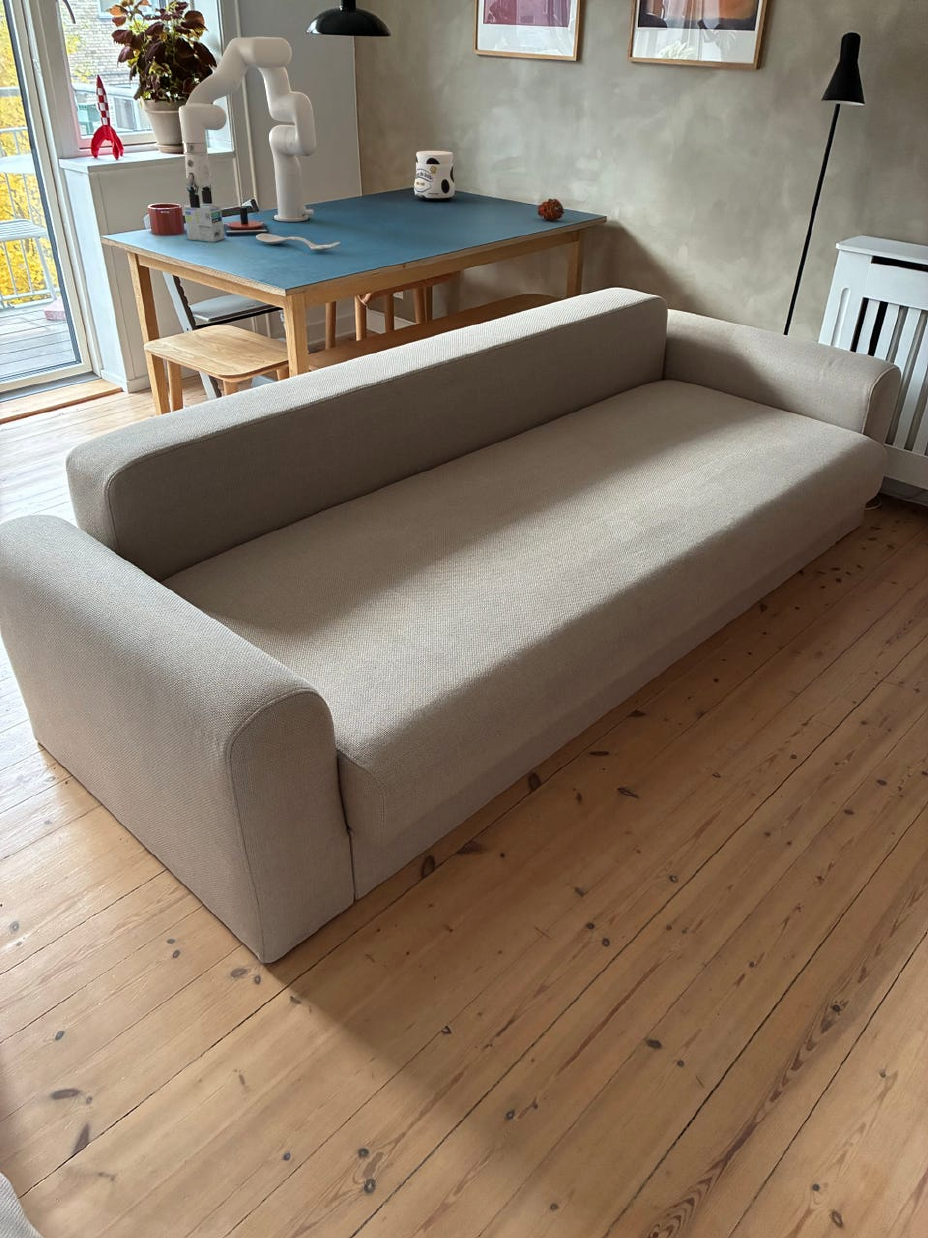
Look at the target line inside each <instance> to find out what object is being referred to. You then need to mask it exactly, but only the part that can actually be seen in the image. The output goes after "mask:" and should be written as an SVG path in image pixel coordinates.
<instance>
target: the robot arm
mask: <svg viewBox="0 0 928 1238" xmlns="http://www.w3.org/2000/svg"><path fill="white" fill-rule="evenodd" d="M292 51H293V50H292V47H291V45H290V42H288V41H287V40H286V39H285V38H283V37H271V36H269V37H268V36H251V37H243V36H241V37H234V38H232V39H231V40H230V41H229V42H228V44H227V46H226V47H225V50H224V52H223V54H222V56H221V58H220V60H219V62H218V64H217V66H216V68H215V70H214V71H213V73H211V74H210V75H208V76H207V77H206V78H205V79H203V80H202V81H201V82H200V83H199V84H198V85H196V86H195V87H194V88H193V90H192V91H191V92H190V95H189V97H188V99H187V101H186V103H185V104H184V105H181V106H179V108H178V116H179V124H180V132H181V141H182V150H183V155H184V161H185V162H184V163H185V176H186V177H185V178H186V180H185V185H186V189H187V194H188V196H189V197H188V198H189V205H190V207H191V208H200V204H201V202H200V195H199V194H198V193H199V188H200V189H202V190H201V199H202V204H208V205H213V197H212V195H213V194H212V184H213V176H212V175H213V174H212V170H211V163H210V158H209V155H208V144H207V134H206V130H207V131H219V130H222V129H224V127H225V126H226V125H227V121H228V117H227V113H226V111H225V109H224V108H223V107H221V106H219V105H218V104H214V102H216V101H217V100H219V99H222V98H225V97H227V96H229V95H232V94H233V93H236V92H237V91H238V90H239V88H240V86H241V84H242V81H243V80H244V77H245V76H246V74H247V71H248V70H249V69H251V68H257V70H258V71H259V72H260V73H261V76H262V78H263V83H264V87H265V93H266V99H267V104H268V105H267V107H268V112H269V115H270V117H271V118H272V119H273V120H275V121H277V122H286V123H294V125H291V124H278V125H274V126H273V127H272V128H271V130H270V132H269V137H268V140H269V147H270V150H271V154H272V158H273V166H274V167H273V168H274V179H275V192H276V203H277V204H276V205H277V214H275V215H274V216H273V217H274V218H273V219H274V220H275V221H277V222H285V223H294V222H295V223H299V222H305V221H307V220H309V216H310V217H311V216H312V217H313V216H315V210H314V209H308V208H307V206H306V205H304V199H303V195H304V194H303V181H302V180H303V179H302V168H301V164H300V161H299V159H298V156H300V157H309V156H312V155H313V154H314V153H315V152H316V148H317V133H316V125H315V117H314V111H313V106H312V102H311V100H310V98H309V96H307V94H305V93H303V92H301V91H292V90H291V85H290V80H289V75H288V71H287V69H286V66H288V65H289V64H290V62H291V60H292V56H293V55H292V53H293V52H292Z"/></svg>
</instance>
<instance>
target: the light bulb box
mask: <svg viewBox="0 0 928 1238" xmlns="http://www.w3.org/2000/svg"><path fill="white" fill-rule="evenodd" d="M183 211H184V213H183V214H184V220H185V227H186V228H185V229H186V234H187V235H186V236H187V240H188V241H189V240H190V241H199V242H210V243H211V242H212V243H214V242H219V241H222V240H225V229H224V222H223V215H222V214H223V213H222V206H221V205H220V204H204V203H200V208H191V207H190V204H185V205H183Z"/></svg>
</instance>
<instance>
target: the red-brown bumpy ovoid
mask: <svg viewBox="0 0 928 1238" xmlns="http://www.w3.org/2000/svg"><path fill="white" fill-rule="evenodd" d="M536 212H537V215H538V216H540V218H543V220H544V221H545V222H548V221H550V222H556V221H557V220H558V219H561V218H562V217H563V215H564V214H565V211H564V206H563V204H562V203H561V202H560V201H559V200H558V199H557V198H553V199H552V198H548V199H547V200H546V201H543V202H542V203H541V204H539V205H538V207H537V211H536Z"/></svg>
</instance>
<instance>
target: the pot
mask: <svg viewBox="0 0 928 1238" xmlns="http://www.w3.org/2000/svg"><path fill="white" fill-rule="evenodd" d="M147 211H148V218H149V224H150V232H151V234H153V235H156V236H177V235H181V234H184V233H185V232H186V230H185V229H186V228H185V221H184V215H183V214H184V213H183V206H182V205H181V204H179V203H169V202H167V203H165V202H164V203H153V204H149V205H148V206H147Z"/></svg>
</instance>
